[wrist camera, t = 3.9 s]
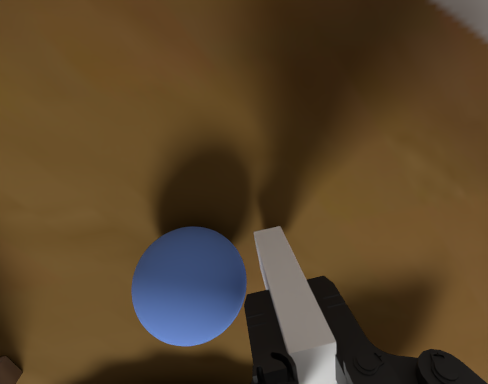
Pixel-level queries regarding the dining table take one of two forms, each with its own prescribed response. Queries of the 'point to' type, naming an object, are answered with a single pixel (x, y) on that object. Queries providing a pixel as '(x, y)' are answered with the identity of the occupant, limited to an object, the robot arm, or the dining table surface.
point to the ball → (189, 286)
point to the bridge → (8, 371)
